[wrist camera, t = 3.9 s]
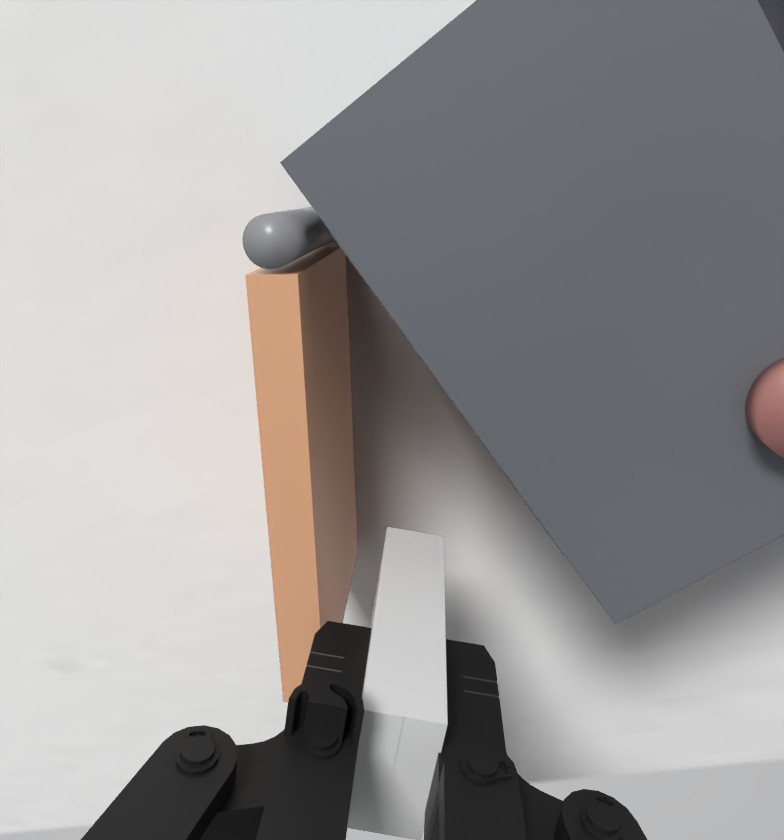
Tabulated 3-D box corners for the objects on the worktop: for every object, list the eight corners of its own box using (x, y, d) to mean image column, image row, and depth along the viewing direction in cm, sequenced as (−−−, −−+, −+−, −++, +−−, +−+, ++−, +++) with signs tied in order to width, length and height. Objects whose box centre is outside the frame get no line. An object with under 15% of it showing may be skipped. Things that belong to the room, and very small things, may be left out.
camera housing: (836, 327, 20) (1068, 408, 12) (555, 494, 22) (614, 645, 15) (624, -62, 17) (764, -247, 10) (328, 175, 19) (263, 168, 12)
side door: (357, 552, 23) (325, 702, 16) (328, 552, 23) (283, 701, 16) (343, 204, 19) (294, 213, 12) (308, 205, 19) (240, 214, 12)
